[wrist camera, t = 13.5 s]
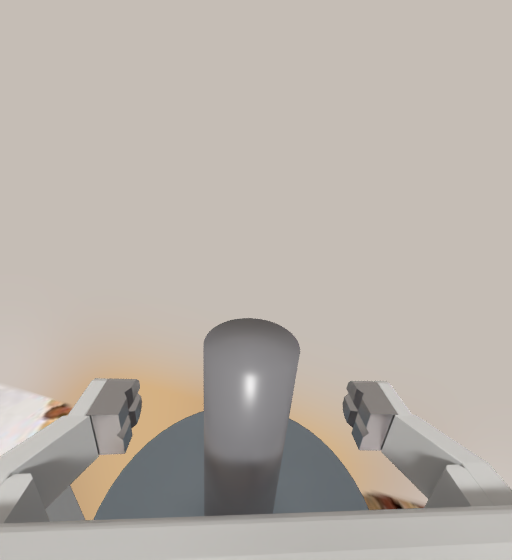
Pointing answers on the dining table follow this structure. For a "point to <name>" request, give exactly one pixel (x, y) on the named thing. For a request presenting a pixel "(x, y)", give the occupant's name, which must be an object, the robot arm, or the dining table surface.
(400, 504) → the dining table surface
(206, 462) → the lid
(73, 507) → the mat
